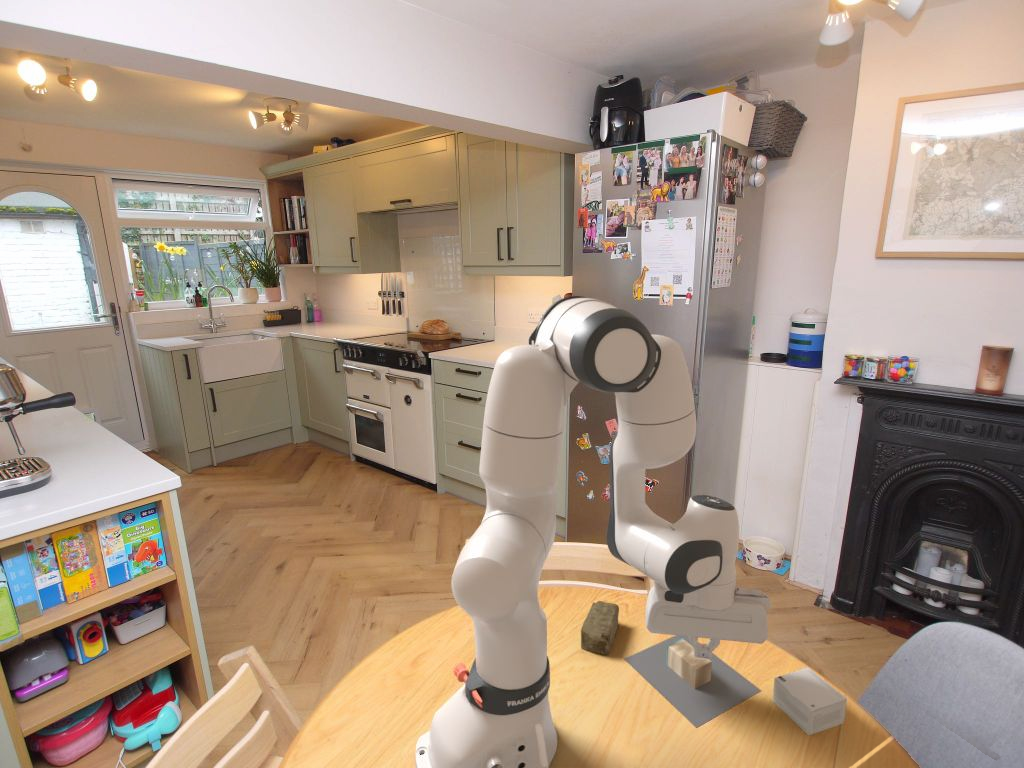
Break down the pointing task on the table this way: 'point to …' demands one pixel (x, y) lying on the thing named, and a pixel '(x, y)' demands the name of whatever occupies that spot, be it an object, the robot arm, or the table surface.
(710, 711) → the rubber mat
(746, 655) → the table surface
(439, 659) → the table surface
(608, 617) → the stone block
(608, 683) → the table surface
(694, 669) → the birch block
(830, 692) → the small box
